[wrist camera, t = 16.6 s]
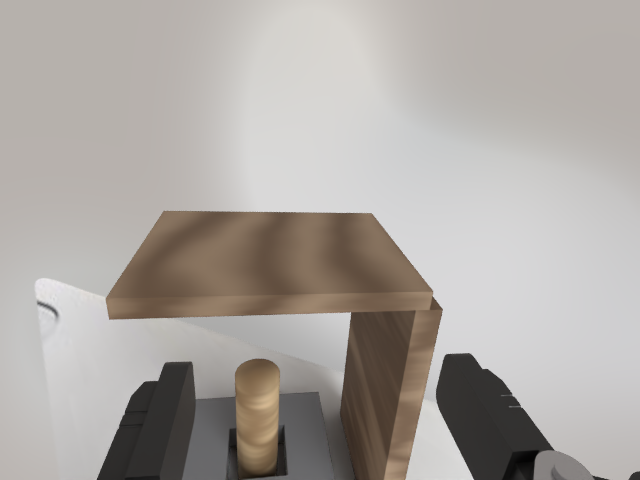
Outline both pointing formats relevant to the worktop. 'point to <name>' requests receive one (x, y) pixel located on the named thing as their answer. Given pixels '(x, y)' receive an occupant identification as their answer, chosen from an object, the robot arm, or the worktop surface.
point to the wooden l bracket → (304, 305)
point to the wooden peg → (257, 418)
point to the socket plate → (293, 429)
